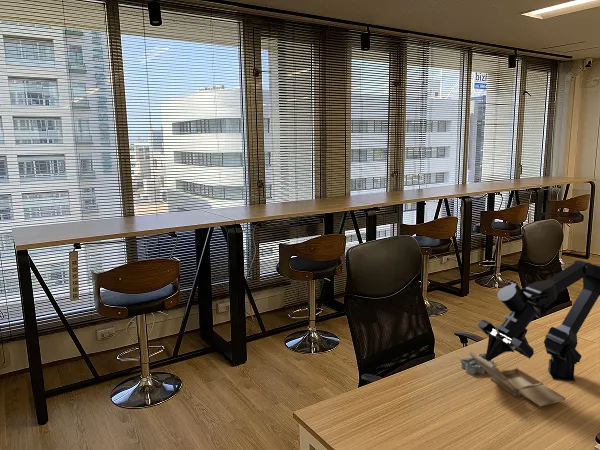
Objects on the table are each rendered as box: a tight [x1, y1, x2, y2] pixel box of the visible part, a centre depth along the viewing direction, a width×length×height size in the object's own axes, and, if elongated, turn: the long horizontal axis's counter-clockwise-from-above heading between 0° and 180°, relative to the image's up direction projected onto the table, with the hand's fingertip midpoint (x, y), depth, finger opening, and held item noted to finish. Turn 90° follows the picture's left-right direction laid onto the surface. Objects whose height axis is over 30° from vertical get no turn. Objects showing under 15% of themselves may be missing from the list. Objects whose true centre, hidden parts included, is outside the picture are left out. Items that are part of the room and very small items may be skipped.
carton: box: [490, 367, 566, 407], centre depth 145 cm, size 10×20×2 cm, turn 18°
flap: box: [468, 350, 515, 390], centre depth 145 cm, size 1×10×12 cm
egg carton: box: [459, 352, 498, 376], centre depth 160 cm, size 11×8×4 cm
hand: (487, 359), depth 144 cm, fingers closed
